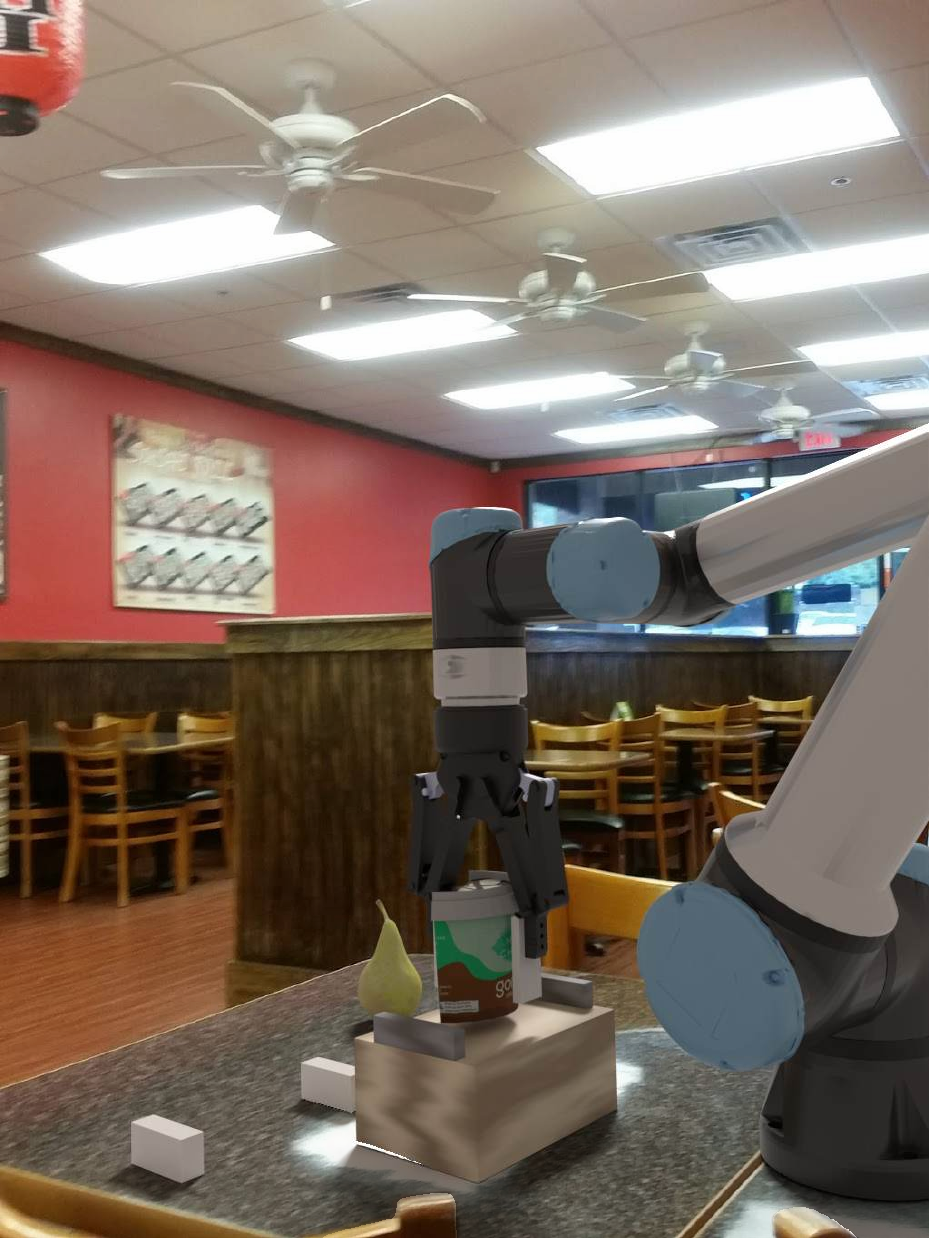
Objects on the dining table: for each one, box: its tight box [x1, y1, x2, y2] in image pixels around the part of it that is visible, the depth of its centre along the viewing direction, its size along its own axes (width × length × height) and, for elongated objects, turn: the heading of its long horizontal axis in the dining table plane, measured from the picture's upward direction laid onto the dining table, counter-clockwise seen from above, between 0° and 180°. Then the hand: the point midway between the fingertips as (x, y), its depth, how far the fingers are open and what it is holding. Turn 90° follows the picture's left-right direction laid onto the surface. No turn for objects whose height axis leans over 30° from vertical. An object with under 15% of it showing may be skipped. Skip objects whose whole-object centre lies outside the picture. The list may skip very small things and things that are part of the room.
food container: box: [431, 870, 519, 1023], centre depth 96 cm, size 12×6×10 cm, turn 165°
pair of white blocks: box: [130, 1056, 356, 1184], centre depth 95 cm, size 6×19×3 cm, turn 140°
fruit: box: [357, 899, 423, 1018], centre depth 126 cm, size 7×8×12 cm
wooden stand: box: [353, 972, 618, 1184], centre depth 96 cm, size 12×18×10 cm, turn 140°
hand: (487, 991), depth 96 cm, fingers closed on food container, 7 cm apart
